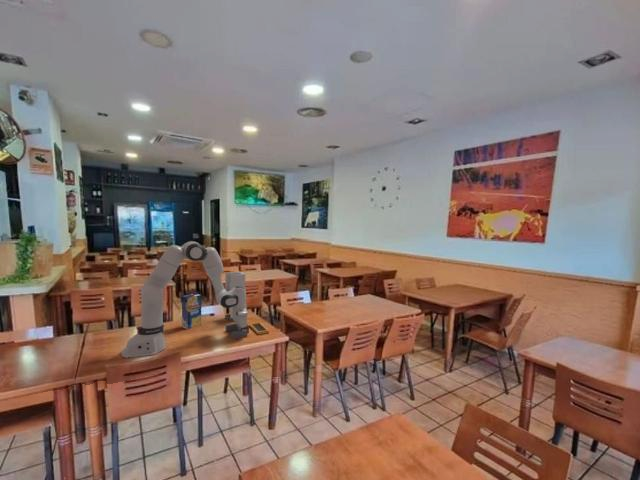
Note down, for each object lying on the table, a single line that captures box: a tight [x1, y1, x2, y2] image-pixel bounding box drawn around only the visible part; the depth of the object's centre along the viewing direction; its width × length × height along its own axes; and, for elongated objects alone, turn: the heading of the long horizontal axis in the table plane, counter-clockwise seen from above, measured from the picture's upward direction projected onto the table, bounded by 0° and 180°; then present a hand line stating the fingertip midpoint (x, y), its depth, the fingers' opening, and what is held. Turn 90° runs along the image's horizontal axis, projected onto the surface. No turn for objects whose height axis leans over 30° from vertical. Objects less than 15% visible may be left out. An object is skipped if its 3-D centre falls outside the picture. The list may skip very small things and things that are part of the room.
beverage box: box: [181, 293, 202, 330], centre depth 221 cm, size 7×11×22 cm, turn 148°
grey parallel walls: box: [225, 323, 248, 340], centre depth 210 cm, size 10×16×4 cm, turn 31°
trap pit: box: [249, 321, 270, 336], centre depth 219 cm, size 8×18×2 cm, turn 31°
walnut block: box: [241, 323, 250, 334], centre depth 213 cm, size 5×5×5 cm
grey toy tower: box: [224, 271, 246, 322], centre depth 241 cm, size 11×11×35 cm
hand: (239, 329), depth 211 cm, fingers closed
